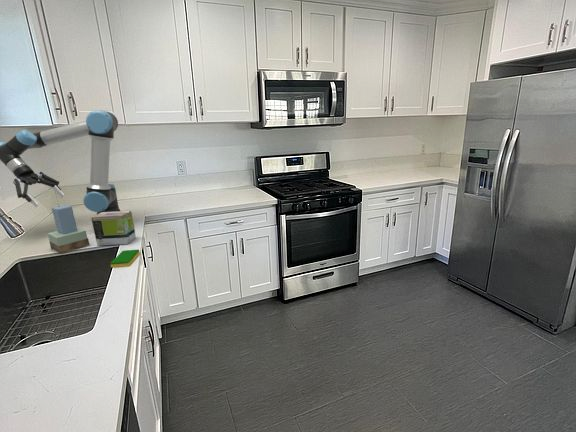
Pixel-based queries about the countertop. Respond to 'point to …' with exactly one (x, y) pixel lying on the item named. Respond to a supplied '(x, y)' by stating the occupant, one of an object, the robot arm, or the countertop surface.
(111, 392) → the countertop surface
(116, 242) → the tea box
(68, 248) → the block
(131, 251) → the dish sponge
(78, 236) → the tower top
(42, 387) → the countertop surface
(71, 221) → the blue block
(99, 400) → the countertop surface
